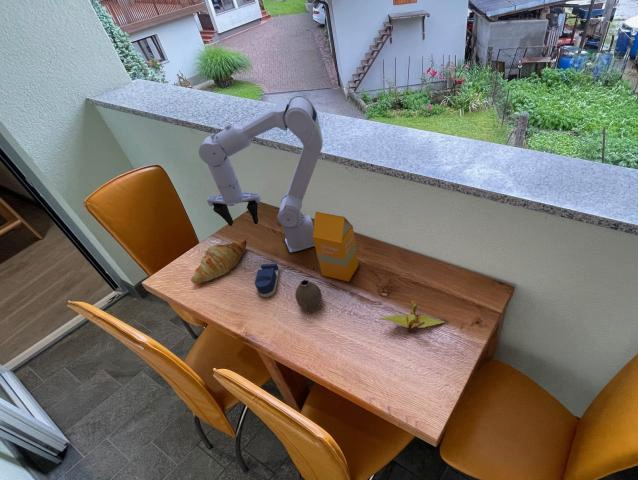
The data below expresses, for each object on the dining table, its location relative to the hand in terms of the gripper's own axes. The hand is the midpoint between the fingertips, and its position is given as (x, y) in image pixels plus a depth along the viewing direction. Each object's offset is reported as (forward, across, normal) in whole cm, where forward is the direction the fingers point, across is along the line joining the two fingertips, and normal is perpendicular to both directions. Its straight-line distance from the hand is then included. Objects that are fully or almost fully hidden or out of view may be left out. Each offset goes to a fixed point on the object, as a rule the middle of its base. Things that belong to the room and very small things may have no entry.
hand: (244, 223), depth 107 cm
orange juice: (+10, +29, -15) cm, 34 cm away
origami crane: (+10, +48, -39) cm, 63 cm away
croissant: (+10, -8, -8) cm, 15 cm away
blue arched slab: (+9, +8, -18) cm, 22 cm away
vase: (+10, +21, -28) cm, 37 cm away
